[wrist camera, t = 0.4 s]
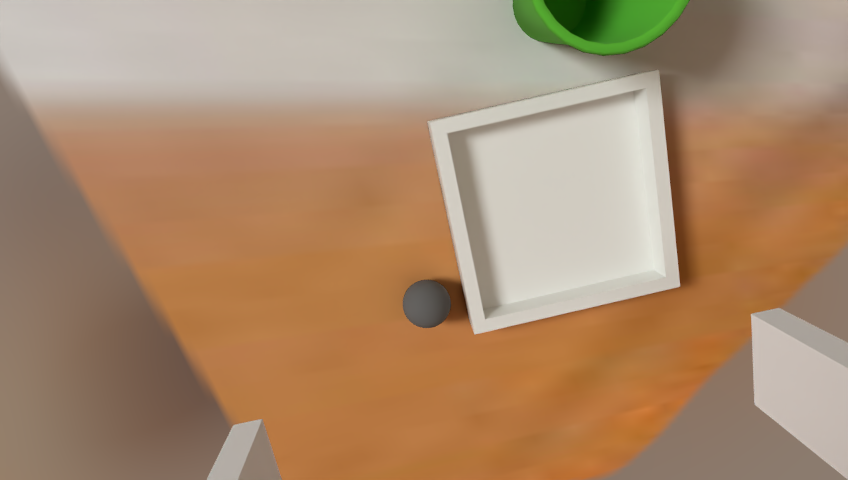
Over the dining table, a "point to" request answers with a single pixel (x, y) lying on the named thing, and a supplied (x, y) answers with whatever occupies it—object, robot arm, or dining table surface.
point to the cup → (598, 22)
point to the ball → (426, 303)
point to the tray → (559, 200)
